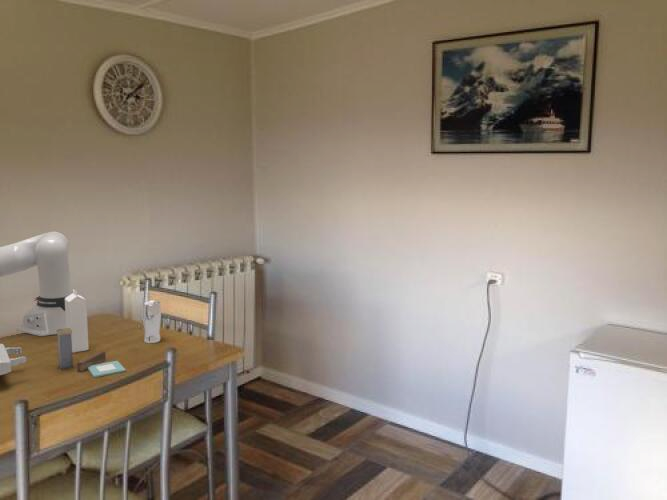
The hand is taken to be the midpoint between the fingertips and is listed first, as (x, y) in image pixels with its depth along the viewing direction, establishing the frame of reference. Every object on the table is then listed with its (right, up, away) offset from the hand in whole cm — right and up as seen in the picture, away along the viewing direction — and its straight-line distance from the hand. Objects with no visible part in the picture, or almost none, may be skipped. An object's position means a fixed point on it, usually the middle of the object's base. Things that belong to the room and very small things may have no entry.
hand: (24, 354), depth 186 cm
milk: (+6, -3, +25) cm, 26 cm away
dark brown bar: (+18, -5, +10) cm, 21 cm away
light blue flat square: (+24, -6, +7) cm, 26 cm away
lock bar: (+10, -6, +8) cm, 14 cm away
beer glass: (+30, -1, +37) cm, 47 cm away
